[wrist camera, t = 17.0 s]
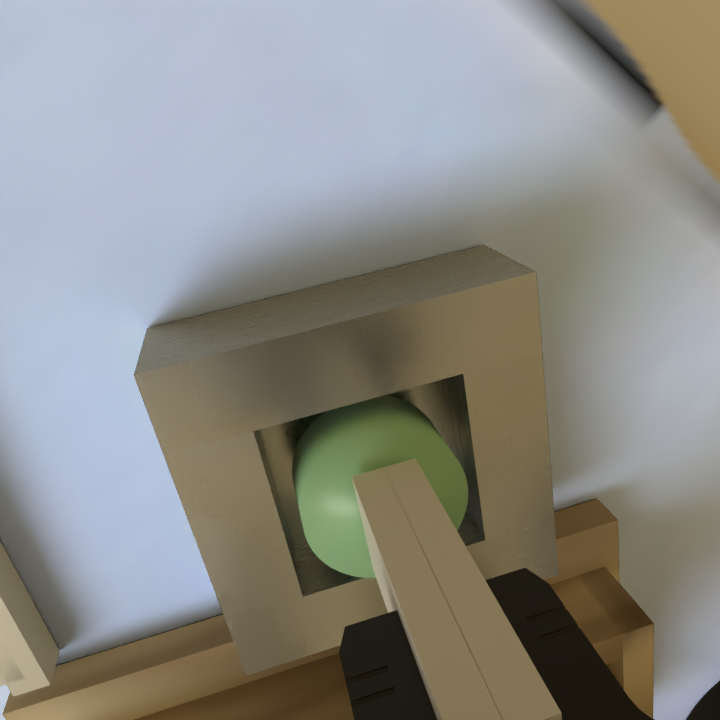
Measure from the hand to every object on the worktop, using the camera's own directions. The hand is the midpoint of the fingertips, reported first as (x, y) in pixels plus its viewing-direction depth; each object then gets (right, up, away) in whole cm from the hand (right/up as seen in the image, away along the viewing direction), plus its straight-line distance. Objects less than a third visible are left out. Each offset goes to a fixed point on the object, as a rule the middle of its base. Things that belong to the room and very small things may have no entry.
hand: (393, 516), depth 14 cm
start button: (-1, +1, +2) cm, 2 cm away
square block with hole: (-1, +2, +4) cm, 4 cm away
